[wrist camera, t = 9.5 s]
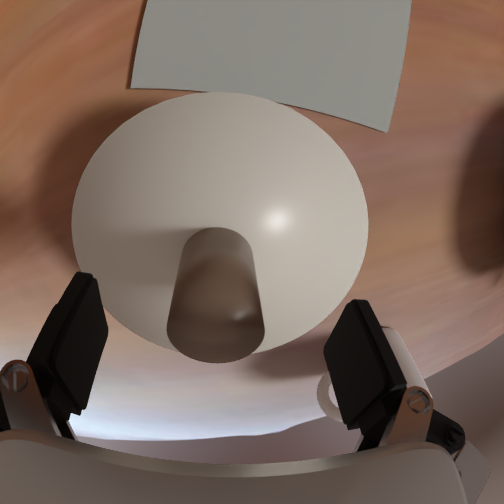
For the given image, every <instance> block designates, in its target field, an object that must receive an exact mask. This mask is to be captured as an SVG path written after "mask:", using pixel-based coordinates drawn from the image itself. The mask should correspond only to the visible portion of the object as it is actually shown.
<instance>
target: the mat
mask: <svg viewBox="0 0 504 504" xmlns="http://www.w3.org/2000/svg"><path fill="white" fill-rule="evenodd" d="M410 10H411V0H148V1H147V5H146V9H145V13H144V17H143V21H142V26H141V30H140V35H139V40H138V45H137V50H136V56H135V62H134V68H133V74H132V81H131V88H154V89H178V90H192V91H204V92H230V93H243V94H247V95H252V96H256V97H261V98H265V99H268V100H271V101H274V102H278V103H283V104H288V105H292V106H297V107H301V108H305V109H309V110H314V111H317V112H321V113H325V114H329V115H332V116H336V117H339V118H343V119H346V120H349V121H353V122H356V123H359V124H362V125H365V126H368V127H371V128H374V129H377V130H380V131H383V132H385V133H388V129H389V125H390V121H391V117H392V113H393V109H394V104H395V100H396V95H397V91H398V86H399V81H400V76H401V71H402V65H403V60H404V54H405V48H406V41H407V34H408V27H409V19H410Z"/></svg>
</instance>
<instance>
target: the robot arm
mask: <svg viewBox="0 0 504 504" xmlns="http://www.w3.org/2000/svg"><path fill="white" fill-rule="evenodd" d="M107 337H108V325H107V322H106V318H105V313H104V309H103V305H102V301H101V296H100V291H99V286H98V281H97V279H96V278H94V277H93V275H92V274H91V273H85V272H76V274H75V275H74V277H73V278H72V280H71V282H70V283H69V285H68V287H67V288H66V290H65V292H64V294H63V295H62V297H61V299H60V300H59V302H58V304H56V305H55V306H54V307H53V309H52V311H51V312H50V314H49V316H48V318H47V320H46V322H45V324H44V325H43V327H42V329H41V331H40V333H39V335H38V337H37V339H36V341H35V343H34V346H33V348H32V350H31V352H30V354H29V356H28V358H27V361H26V362H25V361H22V360H12V361H10V362H8V363H6V364H5V366H4V367H3V368H2V370H1V371H0V504H475V503H476V501H477V499H478V498H479V496H480V494H481V492H482V490H483V489H484V487H485V485H486V483H487V481H488V479H489V477H490V473H491V468H490V464H489V463H488V461H487V460H486V459H485V458H484V457H483V456H482V455H481V454H480V453H479V451H478V450H477V449H476V448H475V447H474V446H473V445H472V444H471V443H470V442H469V441H468V440H467V441H466V442H465V433H464V431H463V428H462V427H461V426H460V425H459V424H458V423H456V422H455V421H453V420H451V419H449V418H448V417H446V416H444V415H442V414H441V413H439V412H437V411H436V410H434V409H433V400H432V397H431V396H430V394H429V393H428V392H427V391H426V390H425V389H423V388H422V387H419V386H412V387H409V388H408V389H407V386H406V384H407V381H406V379H405V377H404V374H403V372H402V370H401V368H400V365H399V363H398V361H397V359H396V357H395V355H394V352H393V350H392V348H391V346H390V344H389V342H388V340H387V338H386V336H385V334H384V332H383V330H382V328H381V326H380V324H379V322H378V320H377V318H376V316H375V314H374V312H373V310H372V308H371V306H370V304H369V302H368V301H367V300H358V299H353V300H352V301H351V302H350V303H348V304H347V305H346V306H345V308H344V310H343V312H342V314H341V316H340V318H339V320H338V322H337V324H336V326H335V328H334V329H333V331H332V333H331V335H330V337H329V339H328V341H327V342H326V344H325V346H324V357H325V360H326V364H327V367H328V371H329V374H330V378H331V381H332V385H333V388H334V392H335V395H336V399H337V403H338V406H339V410H340V414H341V417H342V421H343V423H344V424H347V428H348V430H352V429H358V428H360V430H361V435H360V437H359V439H358V441H357V443H356V445H355V447H354V449H353V451H352V453H349V454H343V455H338V456H332V457H326V458H319V459H312V460H305V461H295V462H284V463H269V464H208V463H207V464H206V463H193V462H181V461H172V460H164V459H157V458H150V457H143V456H139V455H133V454H128V453H123V452H119V451H114V450H110V449H105V448H101V447H97V446H93V445H89V444H86V443H82V442H79V441H78V439H77V437H76V435H75V433H74V431H73V429H72V427H71V425H70V423H69V421H68V420H69V418H70V414H71V413H73V414H76V415H81V411H82V409H83V410H85V409H86V407H87V403H88V399H89V396H90V392H91V388H92V385H93V381H94V378H95V374H96V371H97V368H98V365H99V361H100V358H101V355H102V352H103V349H104V346H105V343H106V340H107Z"/></svg>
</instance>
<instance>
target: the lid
mask: <svg viewBox="0 0 504 504" xmlns="http://www.w3.org/2000/svg"><path fill="white" fill-rule="evenodd" d="M71 229H72V240H73V247H74V251H75V255H76V259H77V262H78V265H79V268H80V270H81V272H85V273H91V274H92V275H93V277H94V278H96V279H97V281H98V286H99V291H100V296H101V301H102V305H103V307H104V308H105V309H106V310H107V311H108V312H109V313H110V314H111V315H112V316H113V317H114V318H115V319H116V320H117V321H119V322H120V323H121V324H122V325H124V326H125V327H126V328H128V329H129V330H131V331H132V332H134V333H135V334H137V335H139V336H140V337H142V338H144V339H146V340H148V341H150V342H152V343H155V344H157V345H159V346H162V347H164V348H168V349H171V350H174V351H177V352H181V353H182V354H184V355H185V356H188V357H190V358H192V359H195V360H198V361H202V362H207V363H227V362H232V361H236V360H239V359H242V358H244V357H246V356H248V355H250V354H254V353H258V352H262V351H266V350H269V349H272V348H275V347H278V346H281V345H283V344H285V343H288V342H290V341H292V340H294V339H296V338H298V337H299V336H301V335H303V334H305V333H306V332H308V331H309V330H311V329H312V328H314V327H315V326H316V325H318V324H319V323H320V322H322V321H323V320H324V319H325V318H326V317H327V316H328V315H329V314H330V313H331V312H332V311H333V310H334V309H335V308H336V307H337V306H338V305H339V303H340V302H341V301H342V300H343V299H344V297H345V296H346V294H347V293H348V291H349V290H350V288H351V287H352V285H353V283H354V281H355V279H356V277H357V275H358V273H359V270H360V268H361V265H362V262H363V259H364V255H365V251H366V246H367V240H368V213H367V205H366V201H365V197H364V193H363V189H362V186H361V184H360V181H359V179H358V176H357V174H356V172H355V170H354V168H353V166H352V165H351V163H350V161H349V160H348V158H347V157H346V155H345V154H344V152H343V151H342V150H341V148H340V147H339V146H338V145H337V144H336V143H335V142H334V140H333V139H332V138H331V137H330V136H329V135H328V134H327V133H326V132H324V131H323V130H322V129H321V128H320V127H318V126H317V125H316V124H315V123H314V122H312V121H311V120H309V119H308V118H306V117H304V116H303V115H301V114H299V113H298V112H296V111H294V110H293V109H291V108H289V107H286V106H284V105H281V104H279V103H276V102H274V101H271V100H268V99H265V98H261V97H256V96H252V95H247V94H243V93H230V92H207V93H196V94H189V95H185V96H181V97H177V98H173V99H169V100H166V101H163V102H161V103H159V104H156V105H154V106H152V107H149V108H147V109H145V110H143V111H141V112H140V113H138V114H137V115H135V116H133V117H132V118H130V119H129V120H127V121H126V122H124V123H123V124H122V125H121V126H119V127H118V128H117V129H116V130H115V131H114V132H113V133H112V134H111V135H109V136H108V137H107V138H106V139H105V141H104V142H103V143H102V144H101V146H100V147H99V148H98V149H97V151H96V152H95V153H94V154H93V156H92V158H91V159H90V161H89V163H88V165H87V166H86V168H85V170H84V172H83V174H82V176H81V179H80V182H79V184H78V187H77V190H76V193H75V198H74V203H73V208H72V222H71Z"/></svg>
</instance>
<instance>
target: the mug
mask: <svg viewBox="0 0 504 504" xmlns="http://www.w3.org/2000/svg"><path fill="white" fill-rule="evenodd" d="M382 330H383V332H384V334H385V336H386V338H387V340H388V342H389V344H390V346H391V348H392V350H393V352H394V355H395V357H396V359H397V361H398V363H399V365H400V368H401V370H402V372H403V374H404V377H405V379H406V381H407V384H406V386H407V389H408V388H409V387H412V386H419V387H422V388H423V389H425V390H426V391H427V392H428V393H429V394H430V392H429V390H428V388H427V386H426V384H425V382H424V380H423V378H422V376H421V374H420V372H419V370H418V368H417V366H416V364H415V362H414V360H413V358H412V356H411V354H410V353H409V351H408V349H407V347H406V345H405V343H404V342H403V340H402V338H401V337H400V335H399V334H398V333H397V332H396V331H395V330H393V329H391V328H382ZM331 383H332V381H331V378H330V374H329V371H328V372H326V373H325V374H324V375H323V376H322V378H321V380H320V381H319V384H318V387H317V399H318V403H319V405H320V407H321V409H322V410H323V411H324V413H325V414H326V415H327V416H329V417H330V418H332V419H334V420H336V421H339V422H343V421H342V417H341V414H340V410H339V408H338V407H336V406H335V405H334V404H333V403H332V402H331V400H330V398H329V393H328V390H329V386H330V384H331ZM430 396H431V394H430ZM431 397H432V396H431Z"/></svg>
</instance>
